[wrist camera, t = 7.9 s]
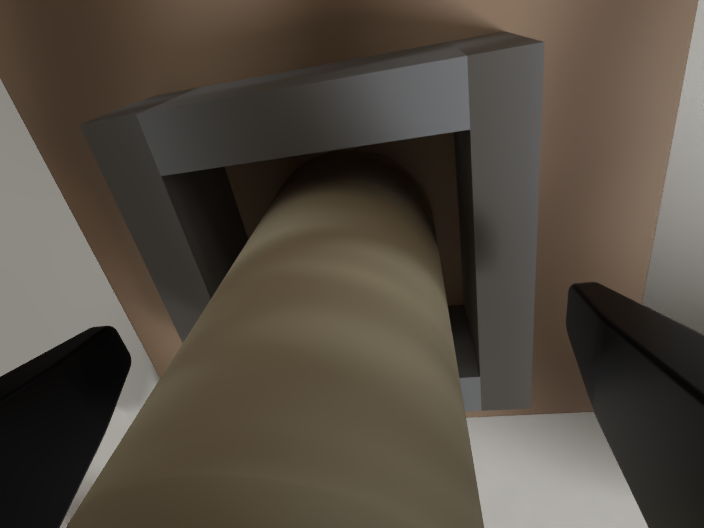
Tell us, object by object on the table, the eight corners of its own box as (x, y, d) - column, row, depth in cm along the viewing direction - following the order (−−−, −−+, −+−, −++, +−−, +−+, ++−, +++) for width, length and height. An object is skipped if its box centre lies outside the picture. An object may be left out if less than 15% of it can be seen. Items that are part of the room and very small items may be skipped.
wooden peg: (425, 137, 11) (492, 466, 3) (440, 288, 13) (501, 700, 5) (253, 163, 12) (-34, 482, 4) (294, 302, 14) (163, 682, 6)
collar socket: (695, -235, 8) (952, -438, 4) (603, 377, 16) (668, 495, 12) (-17, -49, 11) (-241, -77, 7) (202, 401, 19) (152, 503, 15)
